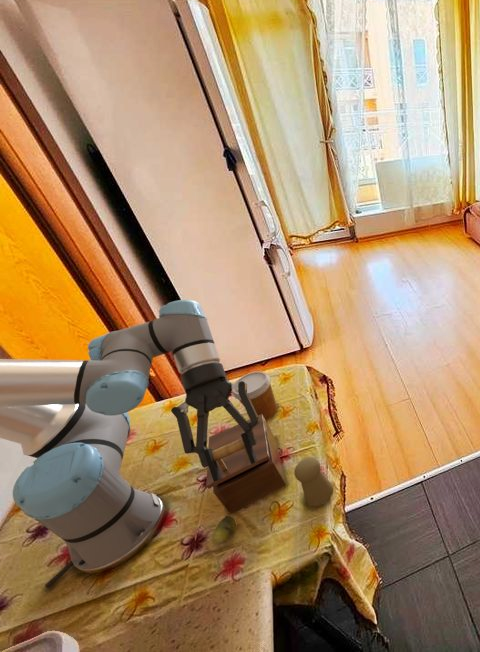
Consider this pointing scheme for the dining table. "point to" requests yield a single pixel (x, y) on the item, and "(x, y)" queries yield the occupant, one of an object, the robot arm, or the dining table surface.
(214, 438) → the lid
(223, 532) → the lime
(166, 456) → the dining table surface
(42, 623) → the dining table surface
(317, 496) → the tan rounded upright piece
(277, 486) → the box
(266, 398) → the disposable coffee cup
